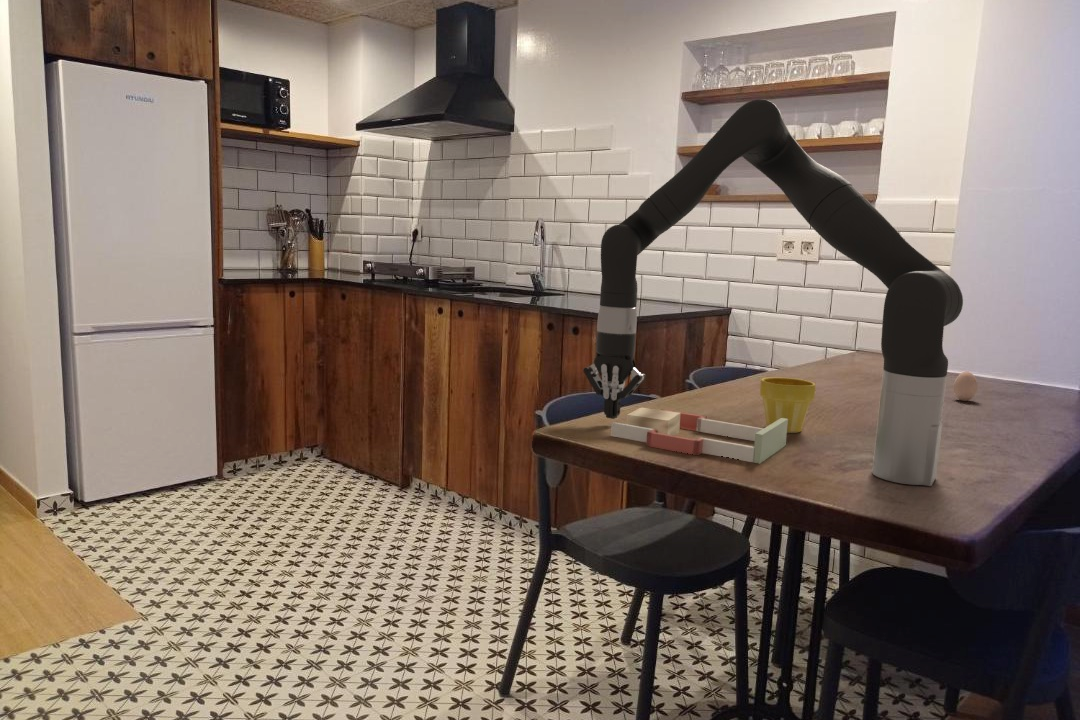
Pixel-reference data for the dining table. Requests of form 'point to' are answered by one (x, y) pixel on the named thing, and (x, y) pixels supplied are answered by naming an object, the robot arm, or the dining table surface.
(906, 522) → the dining table surface
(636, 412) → the birch block
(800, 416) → the plant pot
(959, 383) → the egg
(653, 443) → the trap lane
